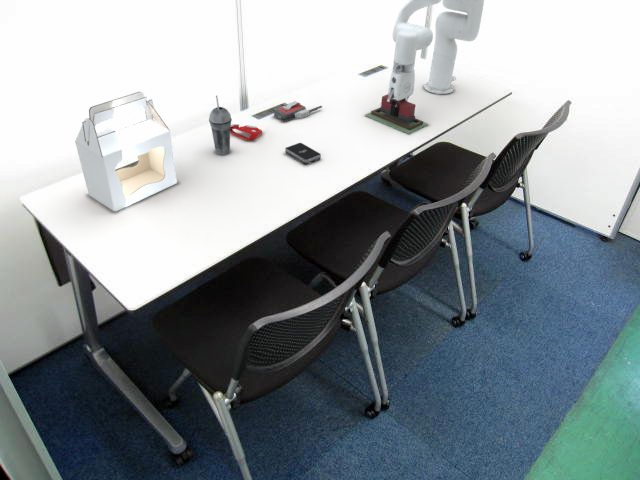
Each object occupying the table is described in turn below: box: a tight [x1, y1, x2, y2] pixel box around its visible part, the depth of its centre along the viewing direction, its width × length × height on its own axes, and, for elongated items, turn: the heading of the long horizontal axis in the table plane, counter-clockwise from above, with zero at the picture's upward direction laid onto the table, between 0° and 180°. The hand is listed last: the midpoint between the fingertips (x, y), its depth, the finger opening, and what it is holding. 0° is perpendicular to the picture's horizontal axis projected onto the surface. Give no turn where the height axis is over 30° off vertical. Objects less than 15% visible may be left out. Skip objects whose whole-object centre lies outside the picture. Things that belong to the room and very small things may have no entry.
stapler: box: [379, 93, 417, 123], centre depth 205 cm, size 14×4×6 cm, turn 45°
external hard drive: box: [284, 142, 322, 165], centre depth 181 cm, size 7×11×2 cm, turn 41°
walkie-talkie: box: [273, 100, 323, 122], centre depth 208 cm, size 9×4×20 cm
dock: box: [365, 106, 429, 135], centre depth 207 cm, size 12×21×2 cm, turn 45°
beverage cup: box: [208, 95, 233, 156], centre depth 176 cm, size 7×7×20 cm
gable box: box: [74, 91, 178, 213], centre depth 153 cm, size 22×13×28 cm, turn 140°
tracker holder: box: [230, 123, 263, 141], centre depth 191 cm, size 12×4×10 cm
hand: (397, 113), depth 206 cm, fingers closed on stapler, 3 cm apart
